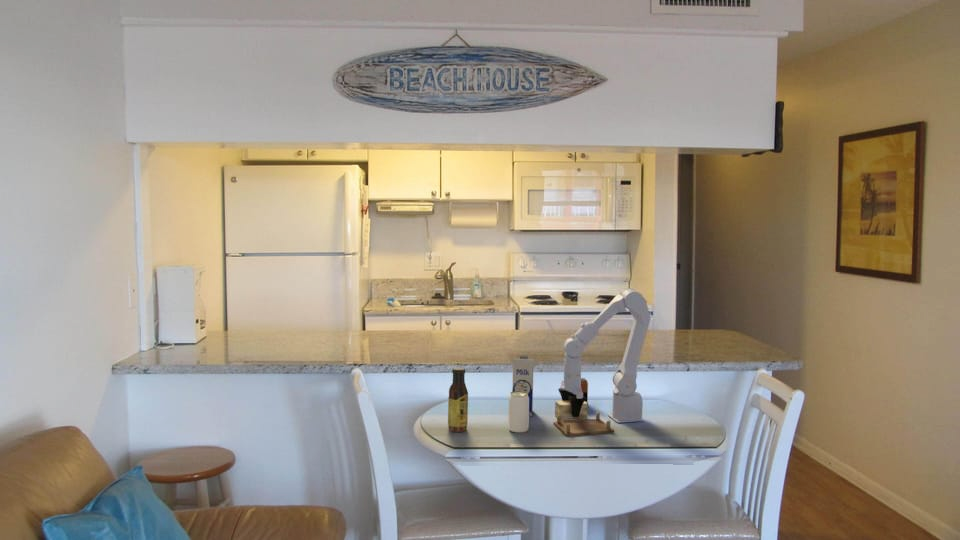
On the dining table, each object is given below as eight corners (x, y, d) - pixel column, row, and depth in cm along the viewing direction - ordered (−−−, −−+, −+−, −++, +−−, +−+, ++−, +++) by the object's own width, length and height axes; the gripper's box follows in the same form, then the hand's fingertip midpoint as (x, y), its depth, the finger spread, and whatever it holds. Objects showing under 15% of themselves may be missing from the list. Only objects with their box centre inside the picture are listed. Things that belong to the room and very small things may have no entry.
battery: (587, 408, 221) (588, 380, 220) (568, 407, 222) (568, 379, 221) (586, 404, 225) (587, 377, 224) (567, 403, 226) (568, 376, 225)
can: (514, 434, 194) (515, 397, 193) (504, 428, 200) (505, 391, 199) (532, 431, 197) (533, 394, 196) (521, 424, 203) (522, 389, 202)
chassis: (599, 420, 208) (599, 411, 207) (614, 432, 197) (614, 422, 197) (553, 424, 204) (553, 414, 204) (565, 436, 193) (565, 426, 193)
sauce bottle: (463, 434, 194) (463, 372, 192) (444, 431, 196) (445, 370, 194) (470, 427, 200) (471, 367, 198) (452, 424, 202) (453, 365, 200)
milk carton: (511, 415, 211) (512, 358, 209) (512, 409, 218) (513, 353, 216) (532, 416, 211) (533, 359, 209) (532, 410, 217) (534, 354, 215)
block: (582, 414, 214) (582, 399, 213) (587, 419, 210) (587, 403, 209) (554, 416, 212) (555, 401, 211) (559, 421, 207) (559, 405, 207)
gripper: (553, 368, 215) (552, 406, 217) (569, 380, 201) (568, 420, 203) (572, 367, 217) (571, 405, 218) (589, 379, 203) (588, 419, 204)
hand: (571, 412), depth 210 cm, fingers open, 7 cm apart
